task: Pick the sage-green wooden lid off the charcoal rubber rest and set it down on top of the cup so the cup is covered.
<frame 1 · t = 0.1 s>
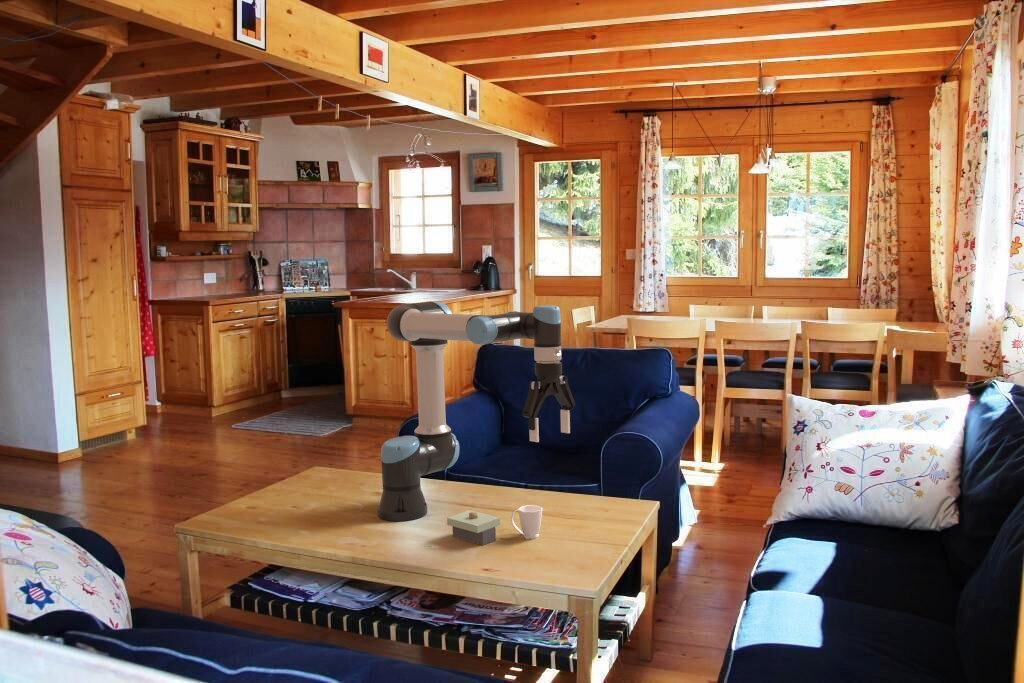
hand: (550, 437, 243), 28 cm above the table, fingers open, 13 cm apart
cup: (526, 536, 245), on the table
rest: (474, 538, 244), on the table
lid: (473, 524, 244), point 4 cm above the table, touching rest
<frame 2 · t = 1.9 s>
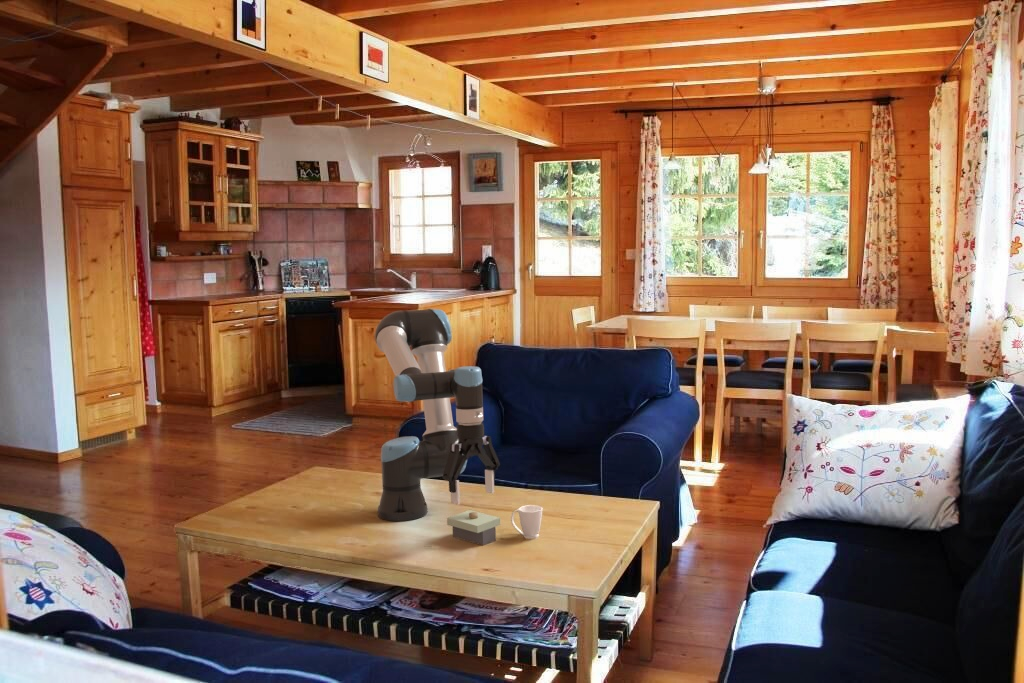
hand: (473, 498, 242), 12 cm above the table, fingers open, 13 cm apart
nothing on the table moved.
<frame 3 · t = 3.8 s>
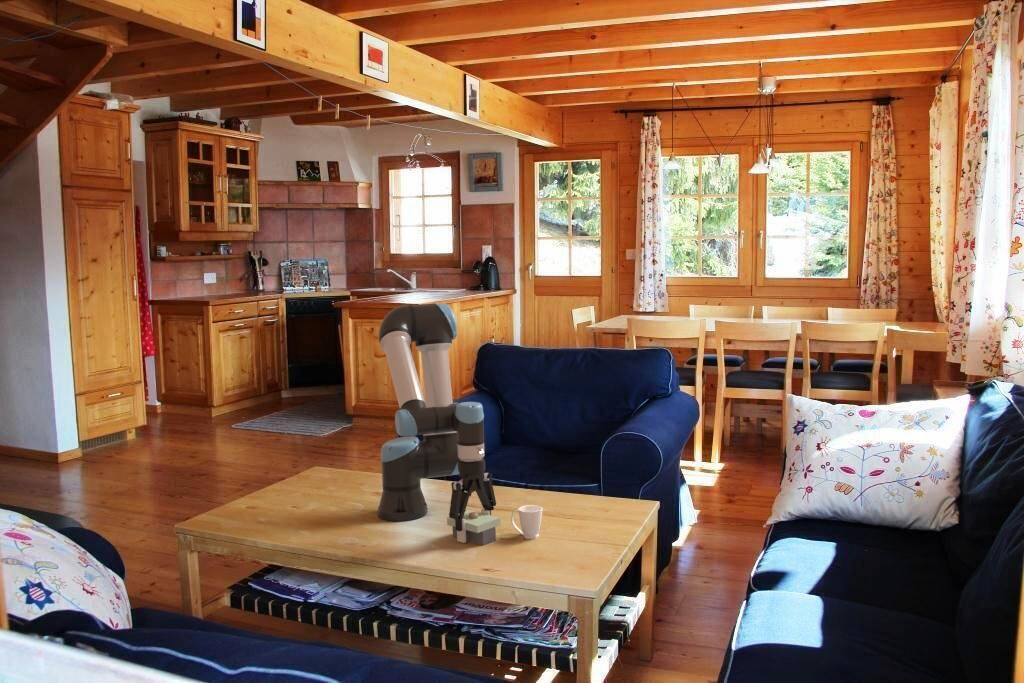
hand: (474, 536, 244), 0 cm above the table, fingers closed on lid, 9 cm apart
lid: (473, 524, 244), point 4 cm above the table, touching gripper, rest
everything else where it was.
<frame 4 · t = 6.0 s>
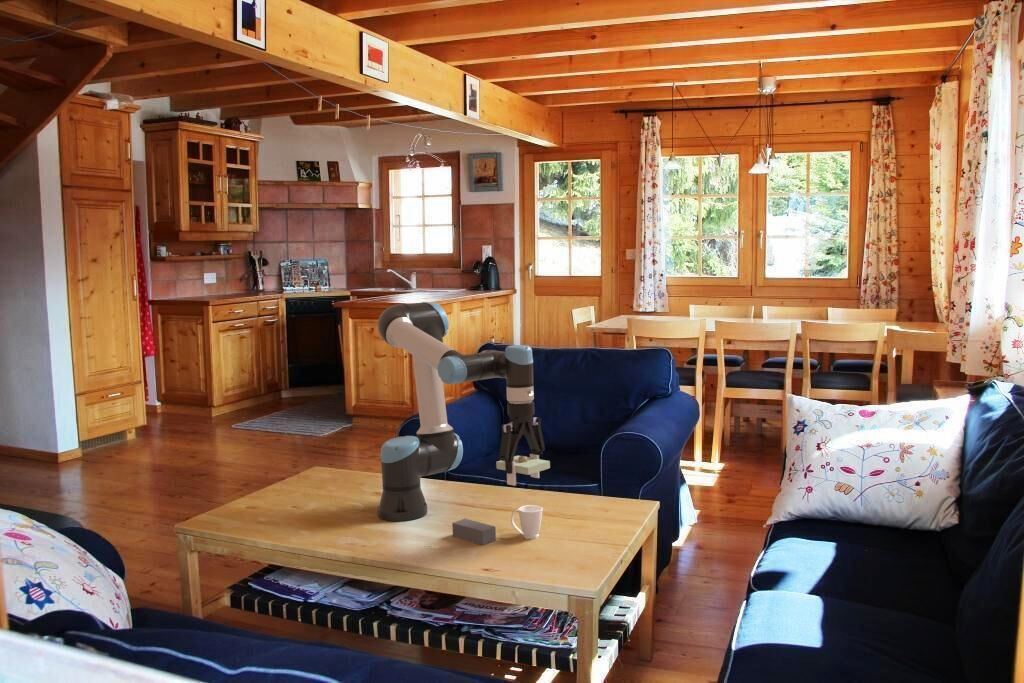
hand: (523, 480, 243), 16 cm above the table, fingers closed on lid, 9 cm apart
lid: (523, 468, 243), point 19 cm above the table, touching gripper
everything else where it was.
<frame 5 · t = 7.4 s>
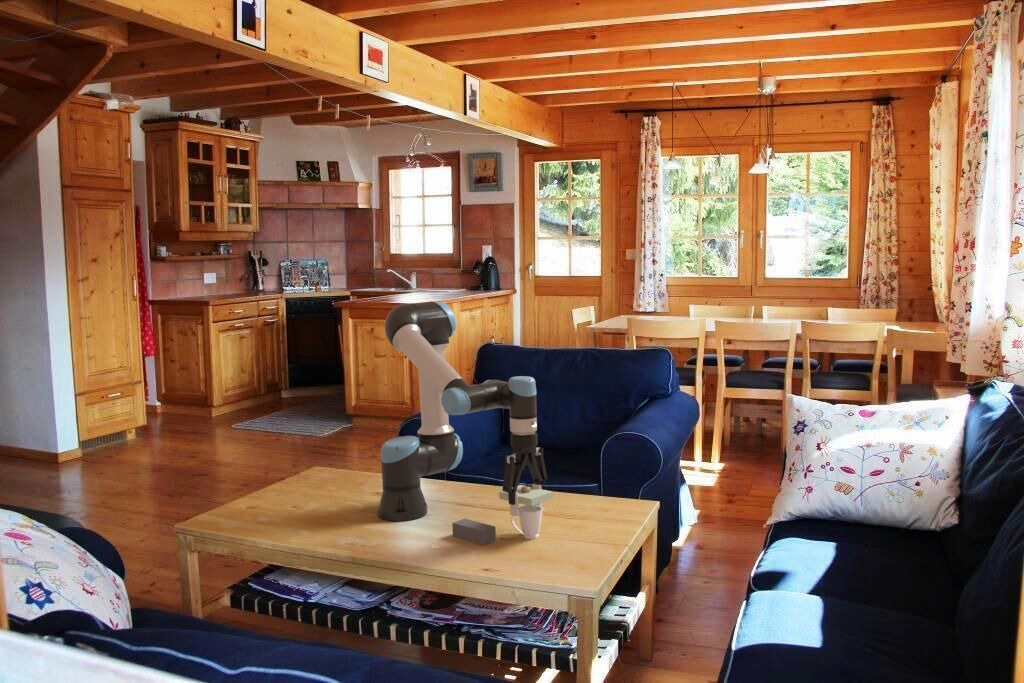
hand: (526, 510, 245), 7 cm above the table, fingers closed on lid, 9 cm apart
lid: (525, 498, 244), point 11 cm above the table, touching gripper
everything else where it was.
when the fingers open (7 cm above the table, at t = 8.2 s): lid drops 2 cm, resting on cup.
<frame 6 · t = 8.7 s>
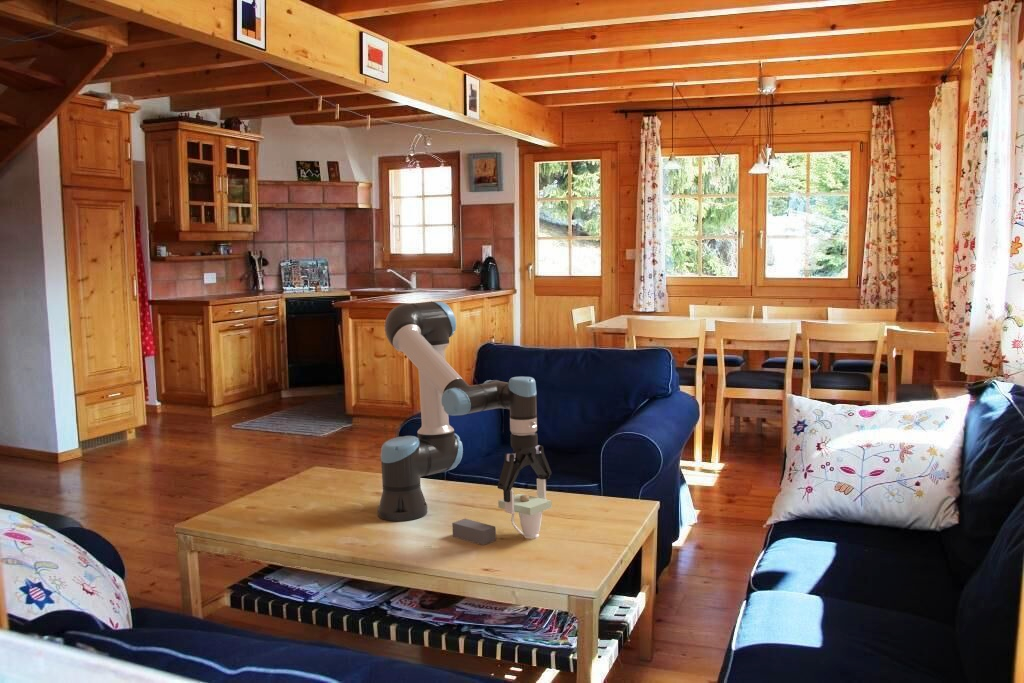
hand: (526, 507, 245), 8 cm above the table, fingers open, 13 cm apart
cup: (526, 536, 245), on the table, touching lid
lid: (524, 507, 245), point 8 cm above the table, touching cup
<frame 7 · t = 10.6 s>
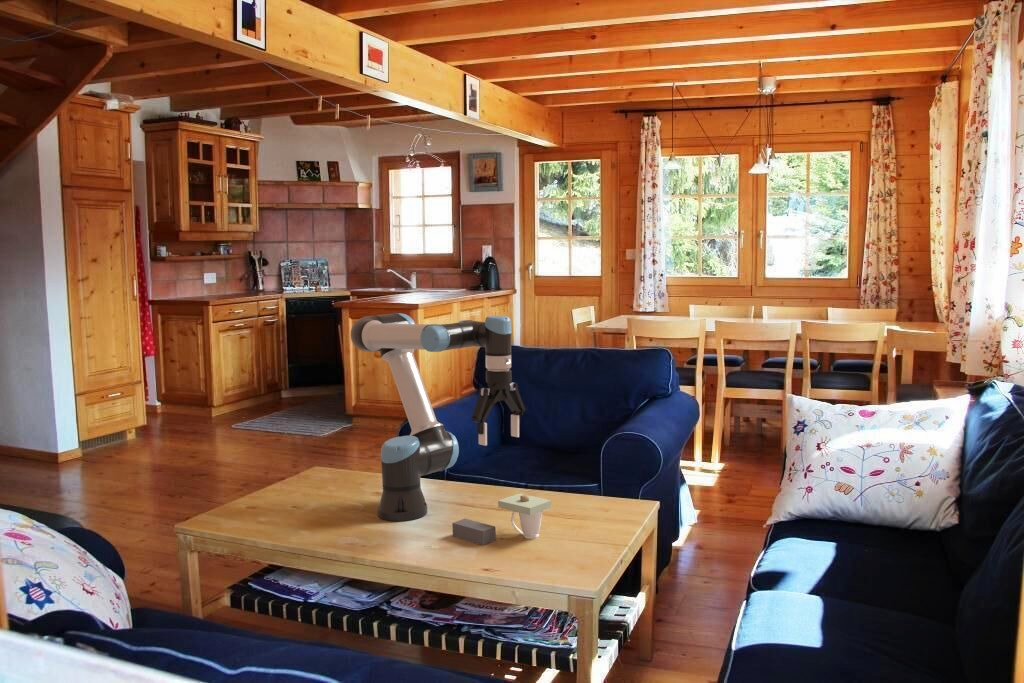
hand: (499, 440, 256), 24 cm above the table, fingers open, 13 cm apart
nothing on the table moved.
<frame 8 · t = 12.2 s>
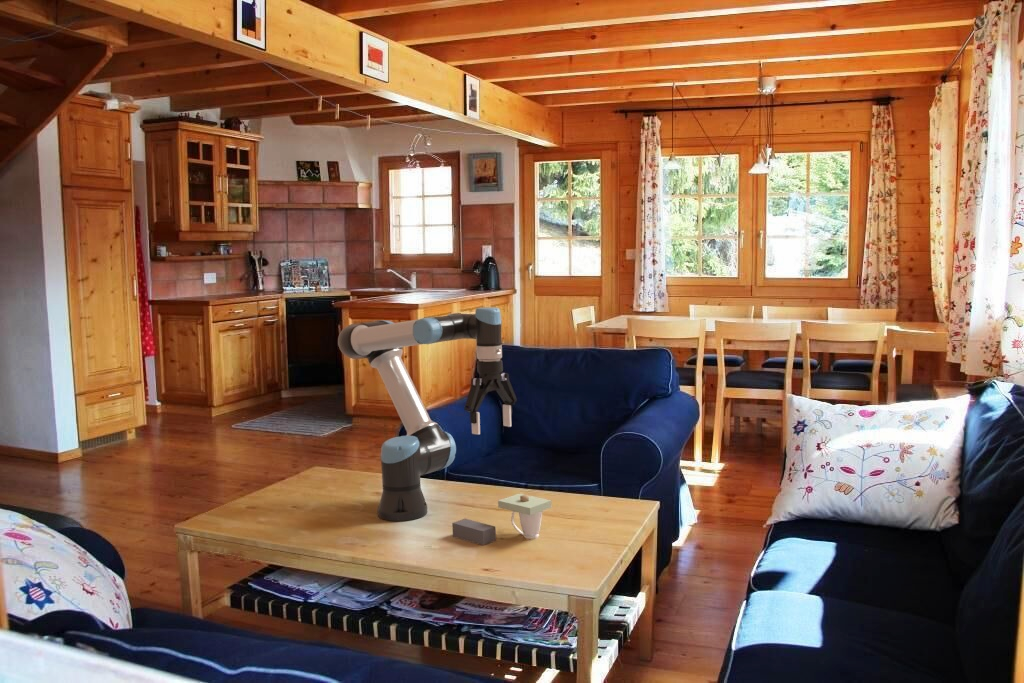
hand: (492, 430, 260), 27 cm above the table, fingers open, 13 cm apart
nothing on the table moved.
at the end: lid inside the target area on the cup (0.4 cm from its centre), point 8.3 cm above the cup's base; lid tilted 0°; the gripper is holding nothing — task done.
